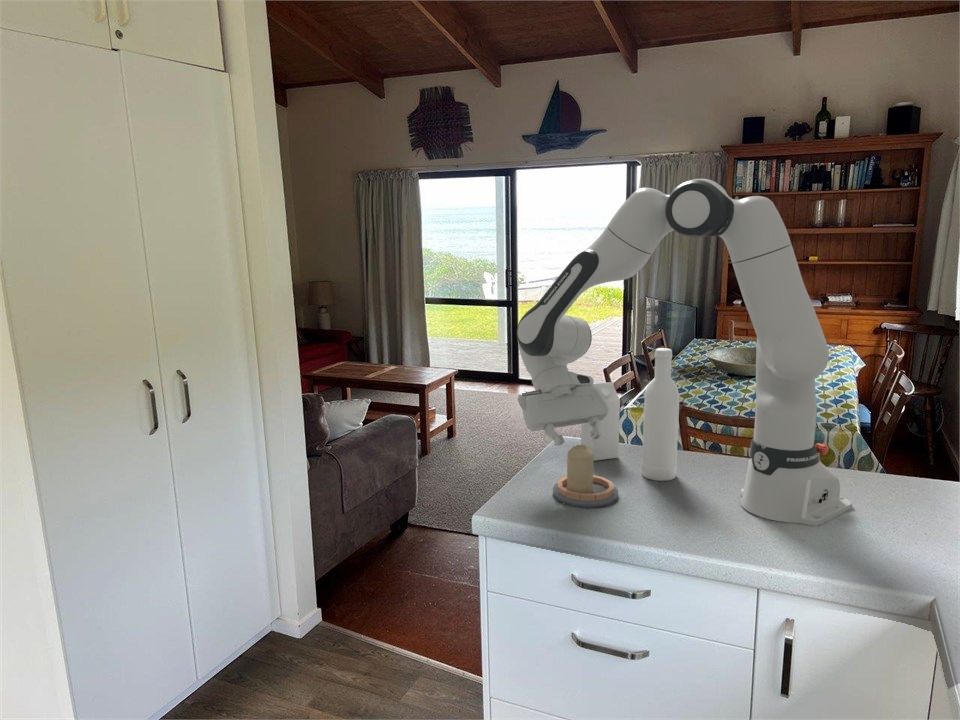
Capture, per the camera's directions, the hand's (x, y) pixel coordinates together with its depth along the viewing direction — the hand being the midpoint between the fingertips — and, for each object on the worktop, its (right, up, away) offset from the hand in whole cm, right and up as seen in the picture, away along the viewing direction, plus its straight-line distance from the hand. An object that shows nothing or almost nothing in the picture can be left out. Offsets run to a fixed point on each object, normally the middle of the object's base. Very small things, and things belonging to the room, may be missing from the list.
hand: (578, 440), depth 145 cm
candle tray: (+1, -12, 0) cm, 12 cm away
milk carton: (+9, -7, +25) cm, 28 cm away
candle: (0, -11, -1) cm, 11 cm away
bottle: (+20, -10, +11) cm, 25 cm away
